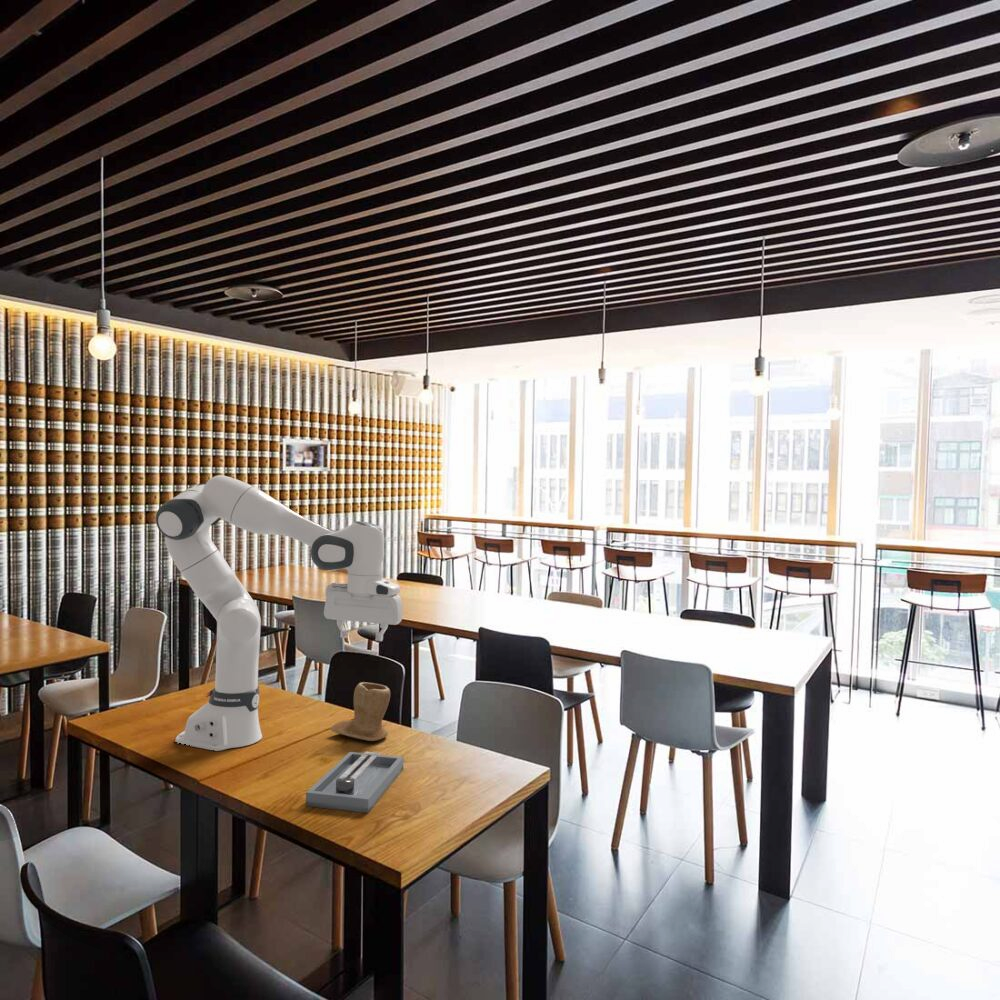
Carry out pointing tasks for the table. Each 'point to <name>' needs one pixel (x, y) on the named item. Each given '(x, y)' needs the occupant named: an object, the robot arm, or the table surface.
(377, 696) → the stone cup
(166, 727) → the table surface
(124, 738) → the table surface
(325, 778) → the utensil tray
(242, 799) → the table surface
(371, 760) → the steel tongs
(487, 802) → the table surface
